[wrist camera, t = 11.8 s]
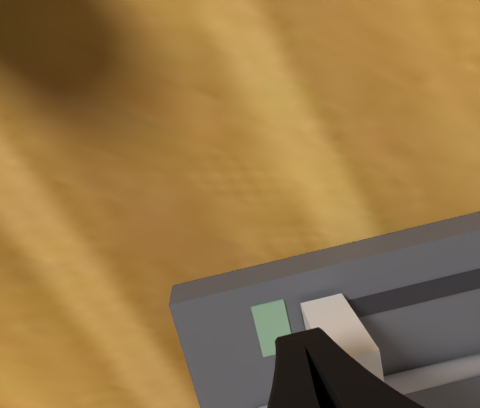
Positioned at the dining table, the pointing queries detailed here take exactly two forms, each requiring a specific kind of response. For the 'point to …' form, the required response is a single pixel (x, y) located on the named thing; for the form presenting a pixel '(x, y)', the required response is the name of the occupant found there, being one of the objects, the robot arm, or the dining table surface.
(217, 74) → the dining table surface
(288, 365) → the robot arm
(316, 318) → the breaker
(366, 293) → the slider control panel
